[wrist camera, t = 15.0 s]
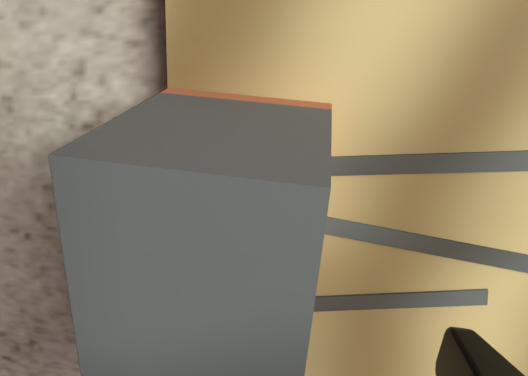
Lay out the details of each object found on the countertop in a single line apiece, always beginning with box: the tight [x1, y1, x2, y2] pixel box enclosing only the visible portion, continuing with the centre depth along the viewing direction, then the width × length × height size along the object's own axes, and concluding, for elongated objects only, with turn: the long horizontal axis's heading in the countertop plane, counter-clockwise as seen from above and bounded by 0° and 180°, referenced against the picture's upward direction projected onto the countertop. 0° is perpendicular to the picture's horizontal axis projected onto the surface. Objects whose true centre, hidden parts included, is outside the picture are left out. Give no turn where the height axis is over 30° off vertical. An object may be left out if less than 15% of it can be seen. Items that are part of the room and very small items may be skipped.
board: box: [165, 0, 528, 376], centre depth 12 cm, size 14×13×1 cm
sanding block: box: [48, 88, 332, 376], centre depth 10 cm, size 4×6×5 cm, turn 176°
